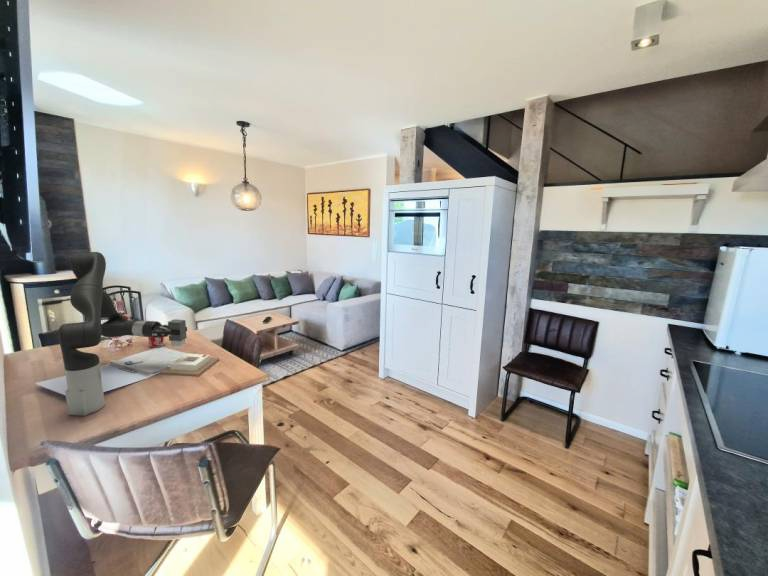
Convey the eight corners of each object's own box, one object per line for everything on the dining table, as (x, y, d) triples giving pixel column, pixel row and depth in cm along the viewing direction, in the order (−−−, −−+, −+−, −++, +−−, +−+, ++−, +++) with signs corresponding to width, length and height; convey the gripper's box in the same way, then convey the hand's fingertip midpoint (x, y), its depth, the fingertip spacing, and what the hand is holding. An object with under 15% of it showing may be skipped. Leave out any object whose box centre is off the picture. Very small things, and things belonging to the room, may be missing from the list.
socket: (198, 376, 147) (197, 367, 146) (159, 374, 147) (159, 365, 146) (219, 360, 164) (218, 352, 164) (184, 358, 165) (184, 350, 164)
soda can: (167, 344, 181) (166, 324, 179) (157, 348, 174) (156, 327, 172) (156, 343, 182) (154, 323, 179) (145, 347, 175) (143, 326, 172)
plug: (181, 346, 149) (179, 322, 147) (169, 346, 149) (167, 322, 147) (186, 343, 154) (185, 320, 151) (175, 342, 154) (174, 319, 151)
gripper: (134, 326, 142) (173, 328, 143) (157, 317, 156) (192, 319, 157) (136, 341, 144) (174, 344, 144) (158, 331, 158) (192, 333, 158)
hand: (183, 331), depth 150 cm, fingers closed on plug, 4 cm apart
